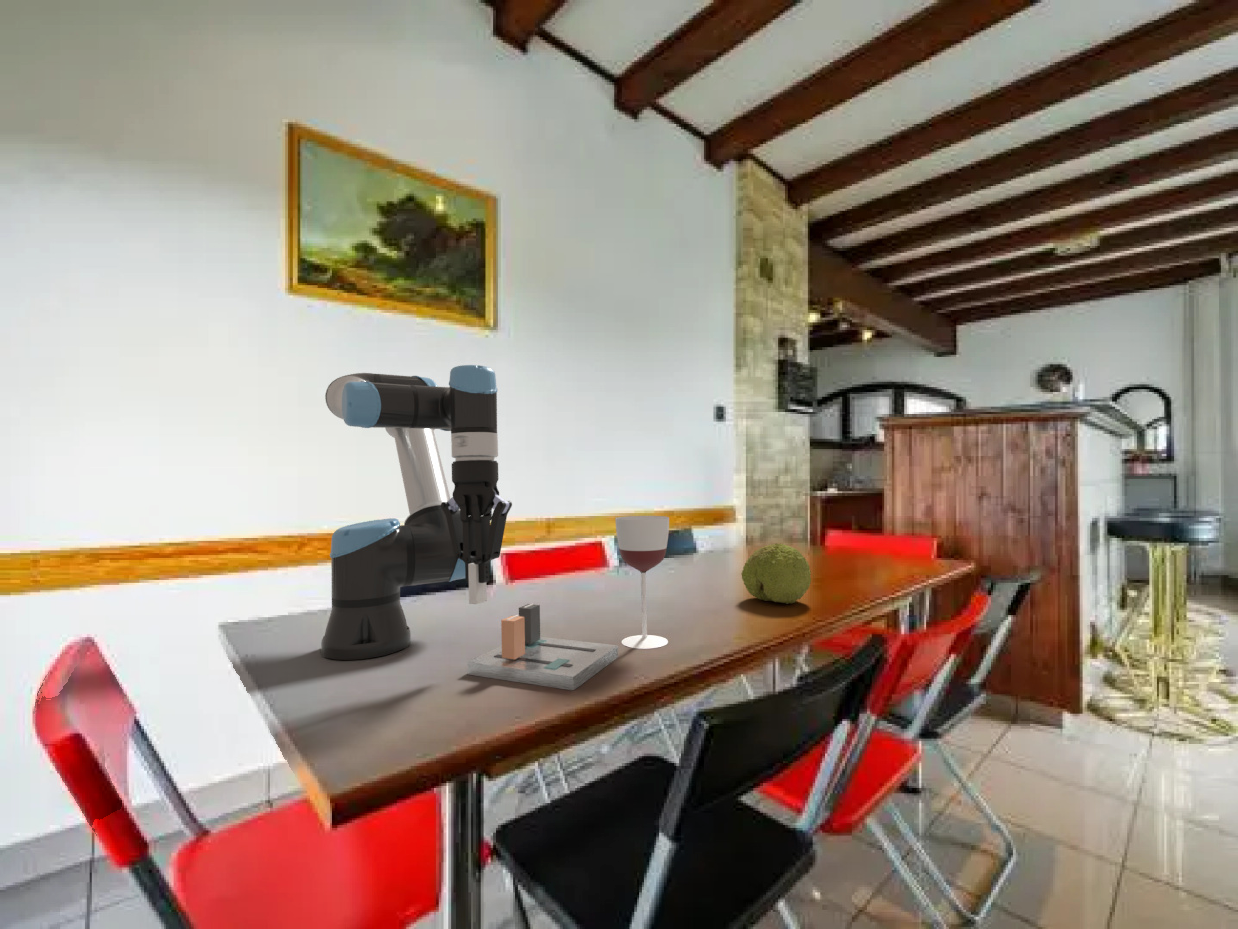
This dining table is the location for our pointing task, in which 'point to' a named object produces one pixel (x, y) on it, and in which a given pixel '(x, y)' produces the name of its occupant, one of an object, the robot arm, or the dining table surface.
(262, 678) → the dining table surface
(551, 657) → the console
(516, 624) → the block
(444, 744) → the dining table surface
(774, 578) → the fruit
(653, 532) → the wineglass
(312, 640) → the dining table surface
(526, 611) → the fader black
